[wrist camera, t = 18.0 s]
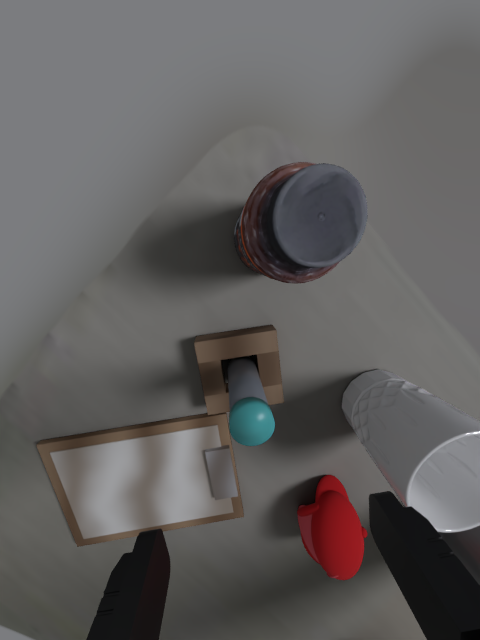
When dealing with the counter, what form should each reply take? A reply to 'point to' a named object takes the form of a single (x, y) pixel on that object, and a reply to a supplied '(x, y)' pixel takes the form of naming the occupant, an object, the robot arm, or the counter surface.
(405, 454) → the white cup
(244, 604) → the counter surface
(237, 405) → the marker
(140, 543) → the robot arm
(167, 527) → the clipboard
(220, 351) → the marker stand
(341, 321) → the counter surface
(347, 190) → the supplement bottle
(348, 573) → the cap
